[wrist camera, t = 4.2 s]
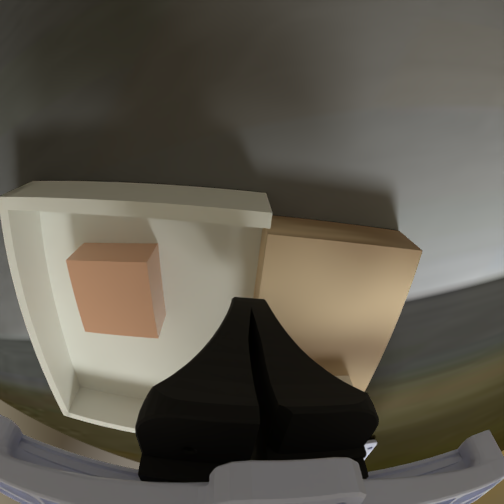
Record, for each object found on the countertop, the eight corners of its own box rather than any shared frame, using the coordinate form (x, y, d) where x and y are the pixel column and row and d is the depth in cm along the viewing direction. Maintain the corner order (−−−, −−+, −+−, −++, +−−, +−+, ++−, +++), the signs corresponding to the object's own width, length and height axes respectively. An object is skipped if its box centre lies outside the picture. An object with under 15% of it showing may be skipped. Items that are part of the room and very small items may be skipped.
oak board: (336, 402, 20) (343, 429, 18) (238, 401, 19) (238, 431, 17) (399, 230, 15) (422, 250, 12) (263, 214, 14) (267, 234, 12)
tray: (236, 410, 20) (237, 444, 17) (77, 386, 19) (63, 415, 16) (266, 192, 14) (272, 213, 11) (33, 180, 13) (-2, 196, 10)
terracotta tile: (85, 331, 14) (98, 309, 16) (158, 338, 14) (166, 314, 16) (65, 260, 12) (84, 242, 14) (146, 262, 12) (158, 243, 14)
